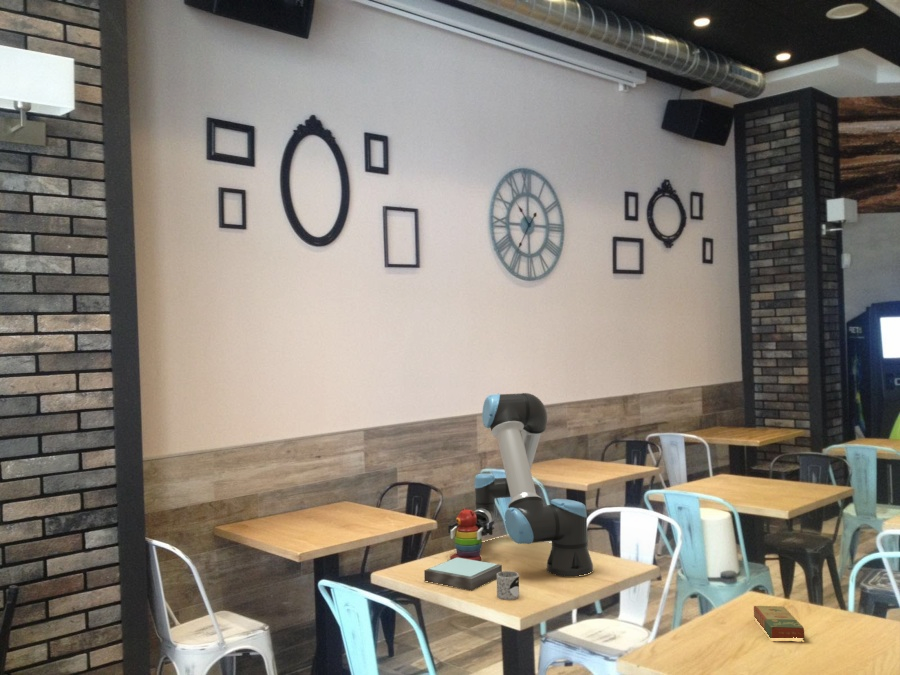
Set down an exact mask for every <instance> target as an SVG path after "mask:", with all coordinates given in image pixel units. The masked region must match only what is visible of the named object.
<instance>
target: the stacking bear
mask: <svg viewBox="0 0 900 675" xmlns="http://www.w3.org/2000/svg"><path fill="white" fill-rule="evenodd" d="M474 511H475V510H472V509H467V508H463V509H462V510H461V511H460V512H459V514H458V515H457V516H456V520H455V522H457V523H458V525H459V527H458V528H457V532H456V536H455V537H454V546H455V547H454V548H455V550H456V553H454V554H451V555H450V557H449V560H451V559H454V558H463V559H469V560H475V561H481V562H482V556H481V552H482V544H483V542H482V538H481V539H480V540H477V531H478V530H479V529H478V527H477V526H475V524H476V521H477V516H476V514H475V512H474Z"/></svg>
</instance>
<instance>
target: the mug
mask: <svg viewBox="0 0 900 675" xmlns="http://www.w3.org/2000/svg"><path fill="white" fill-rule="evenodd" d="M496 597H497V599H499V600H505V601H513V600H516V599H519V598H520V573H518V572H517V571H511V570H502V572H499V573H497V579H496Z"/></svg>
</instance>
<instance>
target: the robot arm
mask: <svg viewBox="0 0 900 675" xmlns="http://www.w3.org/2000/svg"><path fill="white" fill-rule="evenodd" d="M481 414H482V415H481V416H482V417H481V419H482V424H483V426H484V427H485V429H486V428H487V429H490V432H491V435H492V436H493V437H496V439H497V444H498V448H499V451H500V457H501V460H502V465H503V469H504V474H505V477H499V478H498V477H497V478H496V477H495V475H494V473H488V472H487V473H479V474H476V475H475V478H474V498H475V500H474V509H475V510H473V511H474V512H475V514H476V516H477V521H476V524H475V526H477V527H478V529H479V530H478V531H477V540H480V539H482V537H483V536H487V535H490V536H493V532H494V530H495V521H496V518H497V515H498V511H497V510H498V509H497V508H496V505H495V501H496V499H502V498H503V499H504V498H505V499H506V498H510V501H509V503H508V505H507V506H508V507H507V509H506V511H505V514H504V519H505V521H504V524H505V527H506V528H505V529H506V531H507V533H508V536H509V537H510V539H511V540H512V541H513V542H515V544H516V543H517V544H519V545H521V544H523V545H524V544H527V545H530V544H534V543H535V544H536V543H545V542H547V543H548V542H551V549H550V553H549V555H548V559H547V563H546V571H547V572H548V573H549V574H551V575H554V576H559V577H564V576H579V575H584V574H588V573H590V572H592V571H593V572H594V565H593V560H592V558H591V555H590V551H589V549H588V522H587V521H588V515H587V514H588V513H587V507H586V505H585V504H584V503H582V502H580V501H578V500H577V501H576V500H572V499H567V498H566V499H564V498H554V499H551V500H550V504H544V501H543V497H541V496H539V495H538V494H537V492H536V491H537V490H536V487H535V484H534V483H535V482H534V478H533V475H532V471H531V470H532V466H533V463H534V460H535V456H536V452H537V449H538V447H539V442H540V439H541V436H542V434H543V433H544V432H545V431H546V428H547V425H548V413H547V409H546V406H545V405H544V402H542V400H541V399H540V398H539V397H538V396H536V395H534V394H533V393H532V394H531V393H528V392H522V393H502V394H501V393H497V394H489V395H487V396H486V398H485V400H484V402H483V406H482V413H481ZM458 527H459V525H458V523H457V521H455V522H453V523H450V524H449V525H447V530H448V534H450V539H451V540H452V539H455V537H456V532H457V528H458ZM593 572H592V573H593ZM579 577H580V576H579Z"/></svg>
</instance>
